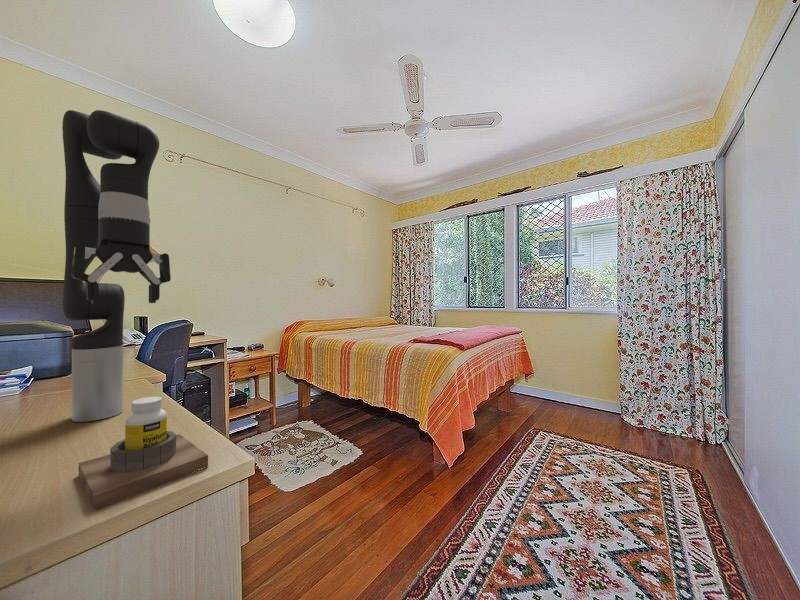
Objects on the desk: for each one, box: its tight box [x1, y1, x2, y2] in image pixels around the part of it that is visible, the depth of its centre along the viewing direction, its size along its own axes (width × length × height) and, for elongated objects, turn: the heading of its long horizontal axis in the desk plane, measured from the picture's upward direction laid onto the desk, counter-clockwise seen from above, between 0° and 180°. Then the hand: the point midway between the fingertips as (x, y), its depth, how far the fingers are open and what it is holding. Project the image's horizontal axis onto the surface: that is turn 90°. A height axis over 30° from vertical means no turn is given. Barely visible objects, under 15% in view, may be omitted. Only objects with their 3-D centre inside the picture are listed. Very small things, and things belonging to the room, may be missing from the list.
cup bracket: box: [78, 430, 209, 511], centre depth 52 cm, size 14×14×5 cm
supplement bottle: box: [124, 396, 168, 451], centre depth 52 cm, size 5×5×10 cm
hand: (125, 303), depth 61 cm, fingers open, 8 cm apart
